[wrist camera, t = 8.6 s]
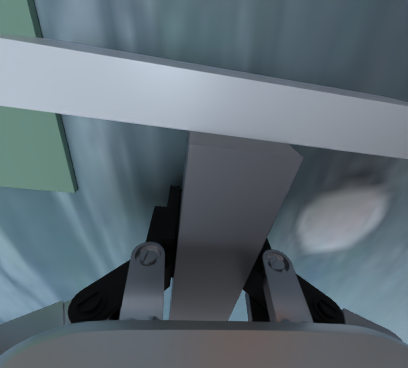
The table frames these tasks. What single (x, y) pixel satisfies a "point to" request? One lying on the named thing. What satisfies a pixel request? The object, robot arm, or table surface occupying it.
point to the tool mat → (31, 125)
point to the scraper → (207, 143)
